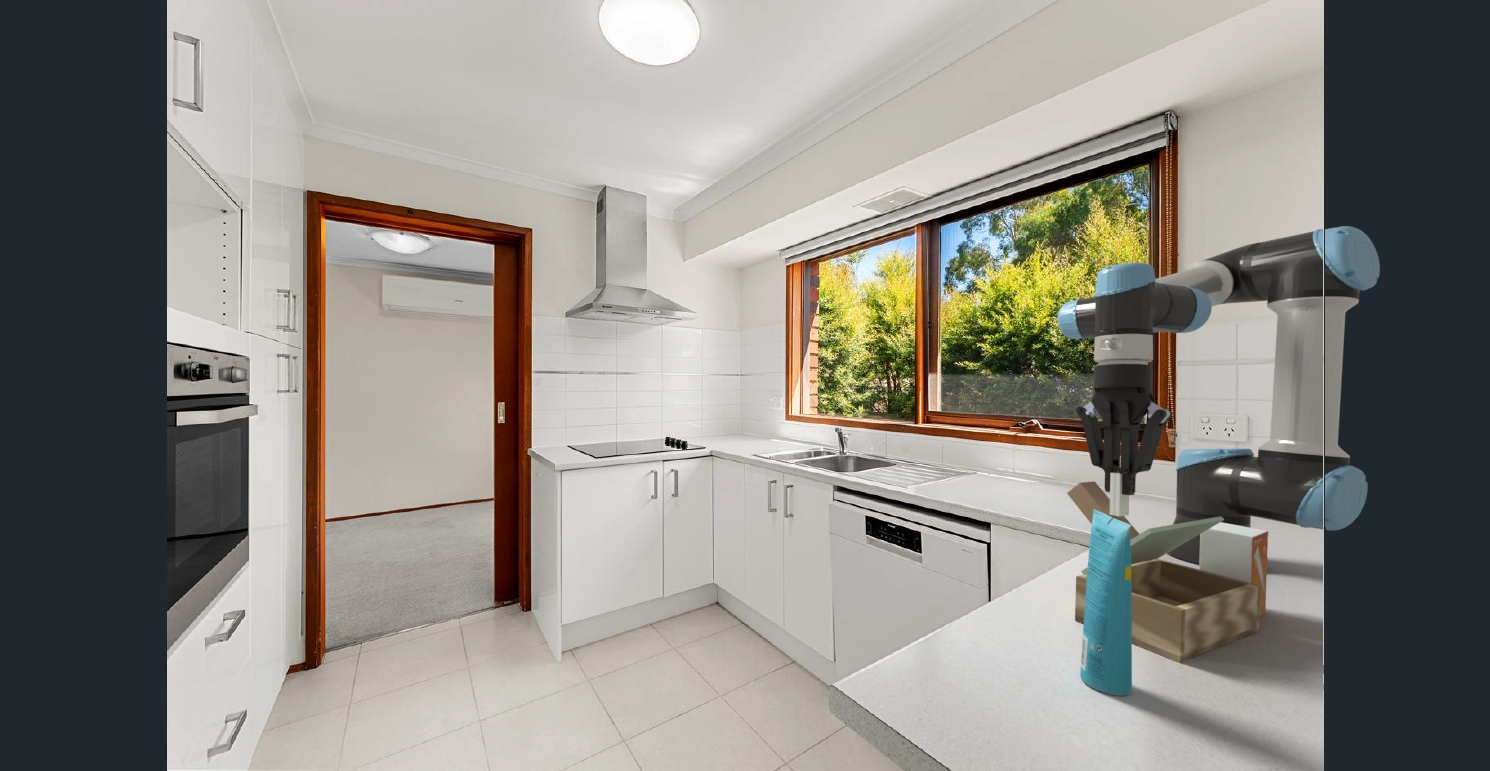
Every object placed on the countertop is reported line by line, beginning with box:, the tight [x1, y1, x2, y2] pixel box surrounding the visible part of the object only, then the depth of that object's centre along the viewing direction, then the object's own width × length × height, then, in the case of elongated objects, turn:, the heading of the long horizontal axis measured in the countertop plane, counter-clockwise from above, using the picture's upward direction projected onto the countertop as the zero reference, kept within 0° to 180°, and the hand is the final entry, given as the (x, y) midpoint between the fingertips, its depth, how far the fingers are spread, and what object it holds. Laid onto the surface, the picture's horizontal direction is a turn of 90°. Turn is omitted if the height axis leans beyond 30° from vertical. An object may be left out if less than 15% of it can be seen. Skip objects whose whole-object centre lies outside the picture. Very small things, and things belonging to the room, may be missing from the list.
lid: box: [1066, 481, 1224, 575], centre depth 82 cm, size 20×12×13 cm
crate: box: [1074, 558, 1261, 664], centre depth 77 cm, size 22×13×6 cm, turn 117°
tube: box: [1079, 509, 1133, 696], centre depth 61 cm, size 7×5×19 cm, turn 178°
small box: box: [1198, 522, 1269, 617], centre depth 83 cm, size 8×6×13 cm
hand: (1119, 514), depth 83 cm, fingers closed
